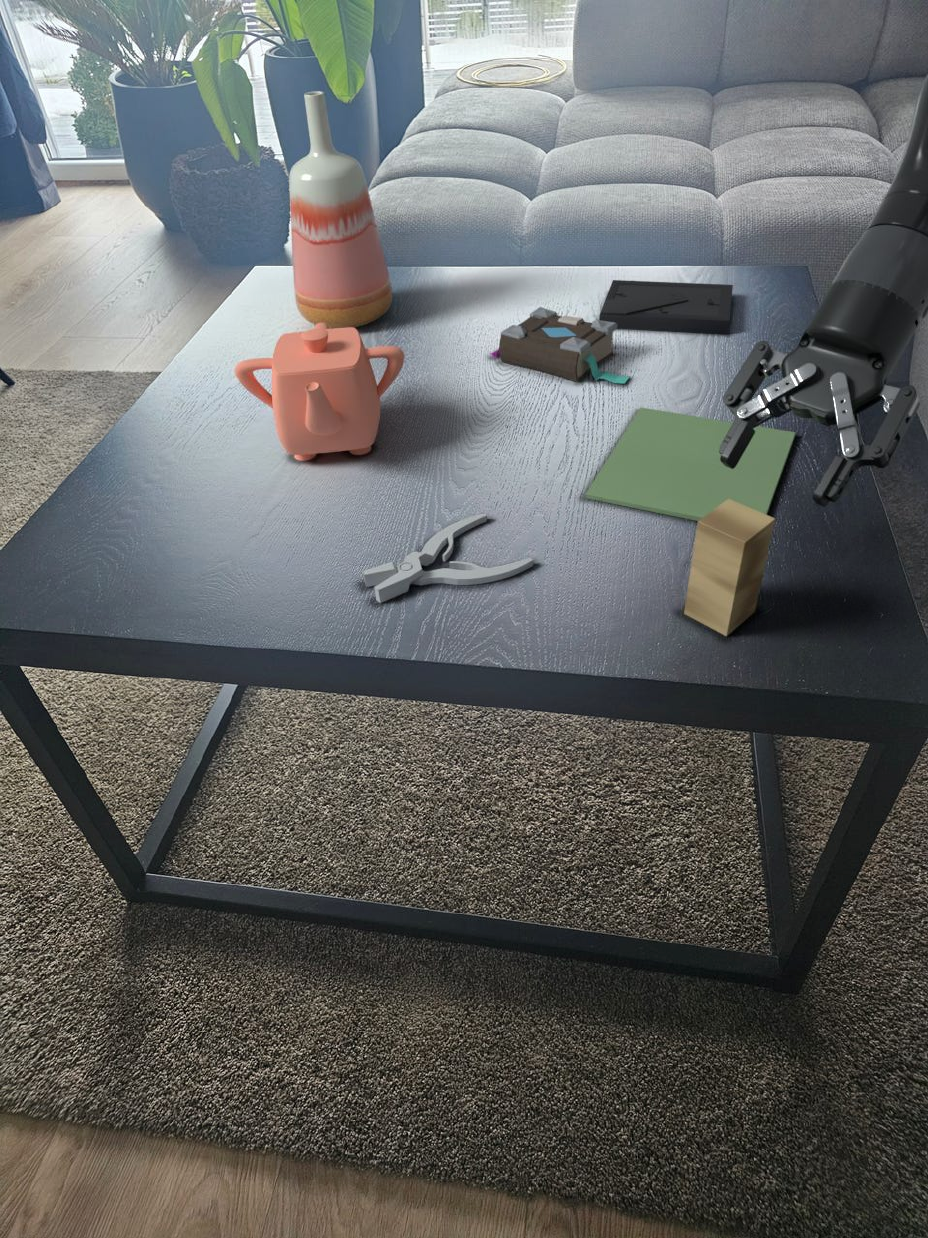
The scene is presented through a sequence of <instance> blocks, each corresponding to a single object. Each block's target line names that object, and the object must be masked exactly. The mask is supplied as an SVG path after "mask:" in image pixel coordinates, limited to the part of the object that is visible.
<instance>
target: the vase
mask: <svg viewBox="0 0 928 1238" xmlns="http://www.w3.org/2000/svg"><path fill="white" fill-rule="evenodd" d="M303 97H304V104H305V113H306V119H307V127H308V135H309V142H310V149H309V153H308V154H307V155H306V156H304V157H302V158H301V159H299V160H298V161H296V162H295V163H294V164H293V165H292V166H291V169H290V171H289V176H288V188H289V210H290V211H289V212H290V213H289V214H290V233H291V251H292V252H291V253H292V254H291V255H292V274H293V275H292V276H293V291H294V300H295V304H296V307H297V310H298V312H299V314H300V315H301V317H302V318H304V319H305V320H306V321H308V322H309V323H310V324H312V325H314V326H315V325H316V324H318V323H326V324H328V325H329V328H330V329H333V328H347V327H353V328H355V329H356V328H359V327H362V326H363V327H364V326H366V325H369V324H371V323H373V322H375V321H377V320H378V319H380V318H381V317H382V316H383V315H385V313H387V311H388V310H389V308H390V307H391V304H392V301H393V288H392V283H391V277H390V273H389V269H388V265H387V260H386V256H385V253H384V249H383V244H382V240H381V236H380V233H379V229H378V225H377V221H376V217H375V212H374V209H373V205H372V200H371V197H370V191H369V188H368V185H367V184H368V183H367V180H366V176H365V172H364V169H363V167H362V165H361V163H360V162H359V161H358V160H357V159H356V158H355V157H352V156H351V155H348V154H345V153H344V152H339V151H338V150H337V149H336V148H335V146H334V144H333V139H332V133H331V127H330V120H329V114H328V108H327V102H326V96H325V92H324V91H319V90H315V91H309V92H305V93H304V95H303Z"/></svg>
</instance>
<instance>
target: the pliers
mask: <svg viewBox="0 0 928 1238" xmlns="http://www.w3.org/2000/svg"><path fill="white" fill-rule="evenodd" d="M487 520H488V517H487V514H486V513H485V512H483V513H479V514H476V515H472V516H469V517H466V518H463V519H461V520H458V521H456V522H454V523H452V524H450V525H448V526H446V527H445V528H443V529H441V530H439V531H438V532H437V533H436V534H434V535H433V536H431V537H430V539H428V541H427V542H425V544H424V545H423V547H422V549H421V551H412V552H411V553H408V555H405V557H404V559H403V561H402V562H400V563H398V565H397V566H396V564H395V563H394V562H393V561H390V562H386V563H384V564H380V565H378V566H375V567H372V568H368V569H365V570H363V578H364V583H365V588H370V587H373V589H374V594H375V601H376V602H378V603H379V604H382V603H384V602H386V601H389V600H391V599H394V598H396V597H398V596H400V595H402V594H404V593H405V594H406V593H408V592H409V589H410V586H411V585H416V586H425V585H431V584H447V585H454V586H473V585H481V584H486V583H487V584H488V583H491V582H493V583H494V582H497V581H501V580H504V579H508V578H511V577H513V576H516V575H519V574H521V573H522V572H524V571H526V570H528V569H530V568H532V567H534V558H532V557H527V558H524V559H521V560H518V561H514V562H510V563H507V564H503V565H502V564H501V565H498V566H493V567H492V566H491V567H483V566H481V565H479V564H476V563H473V562H468V561H449V568H448V567H447V568H446V567H442V568H437V569H432V570H427V571H426V570H423V568H422V566H423V567H429V566H430V565H431V564H433V563H434V562H435V561H436V559H437V558H438V556H439V554H440V552H441V551H442V550H443V548H444V547H445V546H446V545H448V547H447V549H446V551H445V552H444V553H443V554H442V556H441V557H442V562H444V563H445V562H447V560H448V559H449V558H450V557H451V555H452V554H453V551H454V539H456V538H457V537H459V536H460V535H462V534H463V533H465V532H467V531H469V530H471V529H472V528H473V529H474V528H475V527H478V526H479V525H482V524H484V523H487Z"/></svg>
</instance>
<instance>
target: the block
mask: <svg viewBox="0 0 928 1238" xmlns="http://www.w3.org/2000/svg"><path fill="white" fill-rule="evenodd" d="M775 523H776V518H775V517H773V516H770V515H768V514H767V515H766V514H763V513H761V512H759V511H756V510H754V509H752V508H749V507H747V506H745V505H742V504H740V503H738V502H735V501H733V500H731V499H727V500H726V501H725V502H723V503H722V504H721V505H719V506H718V507H717V508H715V509H714V510H712V511H711V512H710V513H708V514H707V515H706V516H704V517H703V518H702V519H700V520H699V521H697V524H696V530H695V531H696V532H695V536H694V537H695V538H694V543H693V544H694V545H693V550H692V558H691V565H690V570H689V578H688V584H687V590H686V598H685V603H684V604H685V605H684V611H683V614H684V615H685V616H687V617H689V618H691V619H693V620H695V621H697V622H699V623H700V624H702V625H704V626H706V627H708V628H710V629H711V630H713V631H715V632H717V633H719V634H721V635H723V636H724V637H728V636H729V635H730V634H731V633H733V631H735V630H736V629H737V628H738V627H739V626H740V625H742V624H743V623H744V622H745V621H747V619H748V618H750V617H751V616H752V615H753V614H754V613H755V612H756V609H757V604H758V599H759V595H760V590H761V585H762V582H763V577H764V572H765V567H766V563H767V558H768V554H769V550H770V545H771V541H772V536H773V532H774V527H775Z"/></svg>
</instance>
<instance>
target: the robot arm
mask: <svg viewBox="0 0 928 1238" xmlns="http://www.w3.org/2000/svg"><path fill="white" fill-rule="evenodd" d="M927 315H928V74H926V76H925V77H924V80H923V81H922V83H921V87H920V89H919V92H918V95H917V99H916V102H915V105H914V108H913V114H912V117H911V123H910V126H909V131H908V135H907V139H906V143H905V147H904V150H903V153H902V156H901V159H900V162H899V165H898V168H897V169H896V173H895V175H894V177H893V179H892V182H891V184H890V186H889V188H888V189H887V192H886V194H885V196H884V197H883V199H882V201H881V203H880V204H879V206H878V208H877V209H876V211H875V213H874V214H873V217H872V218H871V220H870V222H869V223H868V225H867V227H866V229H865V231H864V232H863V234H862V235H861V237H860V239H859V240H858V241H857V242H856V244H855V245H854V247H852V249H851V250H850V251H849V253H848V255H846V258H845V259H844V261H843V263H842V264H841V267H840V268H839V270H838V272H837V273H836V274H835V277H834V278H833V280H832V282H831V284H830V286H829V287H828V289H827V291H826V293H825V294H824V296H823V298H822V300H821V301H820V303H819V305H818V307H817V309H816V310H815V312H814V313H813V316H812V317H811V319H810V320H809V322H808V324H807V326H806V328H805V329H804V331H803V334H802V335H801V337H800V340H799V343H798V344H797V345H796V347H795V348H793V350H791V351H790V352H789V353H784V352H782V351H779V350H776V349H774V348H772V347H771V346H770V344H769V342H767V341H766V340H761V341H758V342H757V343H756V344H755V345H754V347H753V348H752V350H751V352H750V353H749V354H748V356H747V358H746V359H745V361H744V363H743V364H742V366H741V367H740V369H739V370H738V372H737V374H736V375H735V376H734V378H733V380H732V381H731V383H730V384H729V386H728V388H727V389H726V390H725V393H724V394H723V396H722V402H723V404H724V405H725V407H727V409H728V410H729V411H730V413H731V414H732V415H734V421H732V422H733V424H732V426H731V428H730V429H729V431H728V433H727V435H726V436H725V438H724V440H723V442H722V443H721V445H720V449H719V453H720V454H721V457H720V461H721V462H722V463H723V464H724V465H725V466H726V467H729V468H731V469H734V468H735V467H736V465H737V464H738V462H739V460H740V458H741V457H742V455H743V453H744V451H745V450H746V448H747V446H748V444H749V443H750V441H751V439H752V437H753V436H754V434H755V430H754V429H753V428H755V427H757V426H759V427H760V425H762V424H764V423H766V422H768V421H769V420H771V419H774V418H776V419H777V418H780V417H782V416H784V415H786V414H788V413H789V412H791V411H792V413H793V414H794V415H795V416H796V417H797V416H798V417H800V418H803V419H812V420H815V421H816V422H817V423H819V424H821V425H823V426H826V427H827V428H828V427H829V428H830V427H831V426H835V425H837V429H838V432H839V437H840V443H841V444H840V445H841V450H842V452H841V454H840V455H837V454H835V456H834V458H833V459H832V461H831V462H830V465H829V466H828V468H827V469H826V471H825V473H824V475H823V476H822V478H821V479H820V481H819V483H818V485H817V487H816V488H815V490H814V492H813V493H812V500H813V501H814V503H815V504H816V505H818V506H820V507H823V508H825V507H827V506H828V504H829V503H830V502H831V503H836V502H837V501H838V500H839V499H840V498H841V496H842V495H843V493H844V491H845V490H846V488H847V487H848V485H849V483H850V481H851V479H852V478H853V476H854V474H855V473H856V471H857V470H859V468H862V467H866V466H867V467H869V466H870V467H876V468H877V469H884V468H887V467H888V466H889V465H890V463H891V462H892V460H893V458H894V456H895V454H896V452H897V450H898V448H899V447H900V445H901V443H902V441H903V439H904V436H905V435H906V433H907V431H908V429H909V427H910V425H911V423H912V421H913V420H914V418H915V416H916V414H917V412H918V410H919V409H920V405H921V403H920V399H919V395H918V392H917V389H916V388H915V386H914V385H911V384H907V385H903V386H902V387H896V386H892V385H888V384H887V380H888V378H889V376H890V374H891V373H892V372H893V370H894V369H895V367H896V365H897V363H898V361H899V360H900V358H901V356H902V355H903V353H904V352H905V350H906V348H907V346H908V344H909V343H910V341H911V339H912V338H913V336H914V335H915V332H916V331H917V330H918V327H919V325H920V324H921V323H922V321H923V320H924V319H925V318H926V316H927ZM780 369H781V375H782V376H781V377H782V379H780V380H778V381H776V382H775V383H773V384H771V385H769V386H767V387H766V388H764V389H762V391H760V394H759V395H758V396H756V397H754V396H755V394H756V393H757V391H758V390H759V388H760V386H761V385H762V384H763V382H764V380H765V378H767V377H771V376H773V375H774V373H775V372H776V371H778V370H780ZM881 401H882V402H883V405H882V409H883V411H884V413H885V415H886V416H885V417H884V419H883V421H882V423H881V424H880V427H879V429H878V431H877V433H876V435H875V436H874V439H873V440H872V443H871V444H863V441H862V439H863V436H862V431H861V425H860V419H859V414H860V413H862V412H864V411H866V410H868V409H870V408H871V407H873V406H874V405H877V404H878V403H879V402H881Z"/></svg>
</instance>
